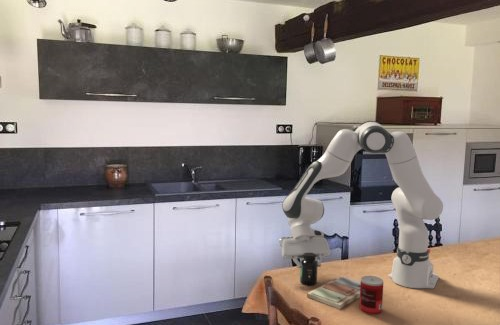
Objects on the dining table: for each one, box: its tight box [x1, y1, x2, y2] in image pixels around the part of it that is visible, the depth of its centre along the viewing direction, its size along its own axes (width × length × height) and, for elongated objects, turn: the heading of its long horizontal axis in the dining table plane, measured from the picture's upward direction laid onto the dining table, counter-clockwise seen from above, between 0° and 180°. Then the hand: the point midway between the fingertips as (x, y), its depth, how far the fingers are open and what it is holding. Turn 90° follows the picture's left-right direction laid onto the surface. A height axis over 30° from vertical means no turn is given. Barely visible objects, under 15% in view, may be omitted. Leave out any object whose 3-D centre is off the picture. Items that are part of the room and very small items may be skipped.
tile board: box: [306, 276, 361, 310], centre depth 165 cm, size 24×14×2 cm, turn 138°
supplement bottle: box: [299, 253, 319, 287], centre depth 174 cm, size 7×7×12 cm
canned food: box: [359, 275, 384, 315], centre depth 151 cm, size 8×8×11 cm
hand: (309, 266), depth 174 cm, fingers closed on supplement bottle, 7 cm apart
